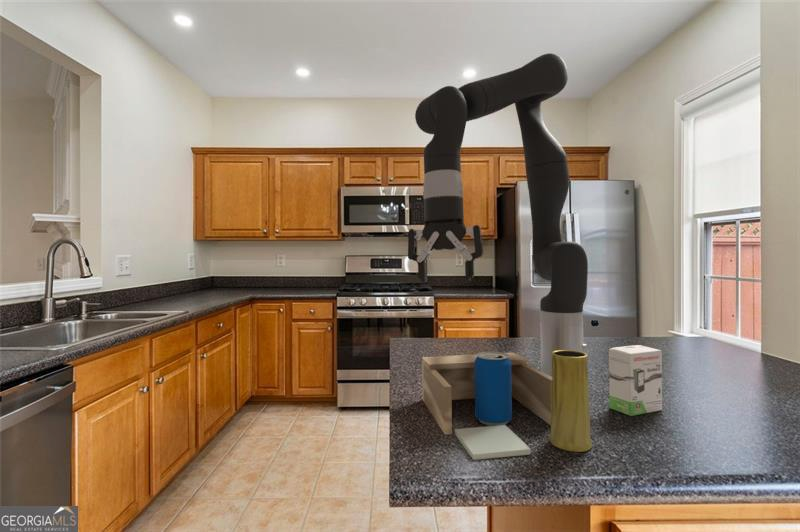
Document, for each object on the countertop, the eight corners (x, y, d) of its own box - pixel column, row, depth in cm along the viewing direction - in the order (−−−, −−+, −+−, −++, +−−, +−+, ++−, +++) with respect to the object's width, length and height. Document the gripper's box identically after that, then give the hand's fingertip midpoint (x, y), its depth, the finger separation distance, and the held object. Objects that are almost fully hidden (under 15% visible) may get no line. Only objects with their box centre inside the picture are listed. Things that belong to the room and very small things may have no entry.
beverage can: (513, 429, 68) (512, 359, 68) (474, 426, 69) (474, 358, 69) (510, 415, 75) (509, 351, 74) (475, 413, 76) (474, 350, 76)
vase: (543, 436, 65) (542, 349, 65) (578, 434, 66) (577, 348, 66) (561, 453, 59) (560, 358, 59) (600, 451, 60) (599, 357, 60)
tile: (505, 429, 68) (505, 424, 68) (530, 454, 59) (530, 449, 59) (454, 433, 67) (454, 429, 67) (473, 459, 58) (473, 454, 58)
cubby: (513, 393, 87) (513, 352, 87) (557, 425, 70) (556, 374, 70) (422, 399, 83) (422, 357, 83) (445, 434, 66) (444, 381, 66)
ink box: (630, 417, 73) (629, 353, 73) (607, 408, 78) (607, 347, 77) (663, 410, 76) (663, 349, 76) (639, 402, 81) (639, 344, 80)
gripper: (482, 197, 78) (485, 279, 78) (412, 202, 82) (415, 280, 82) (478, 191, 71) (481, 282, 71) (402, 197, 75) (405, 283, 75)
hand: (445, 281), depth 77 cm, fingers open, 8 cm apart
